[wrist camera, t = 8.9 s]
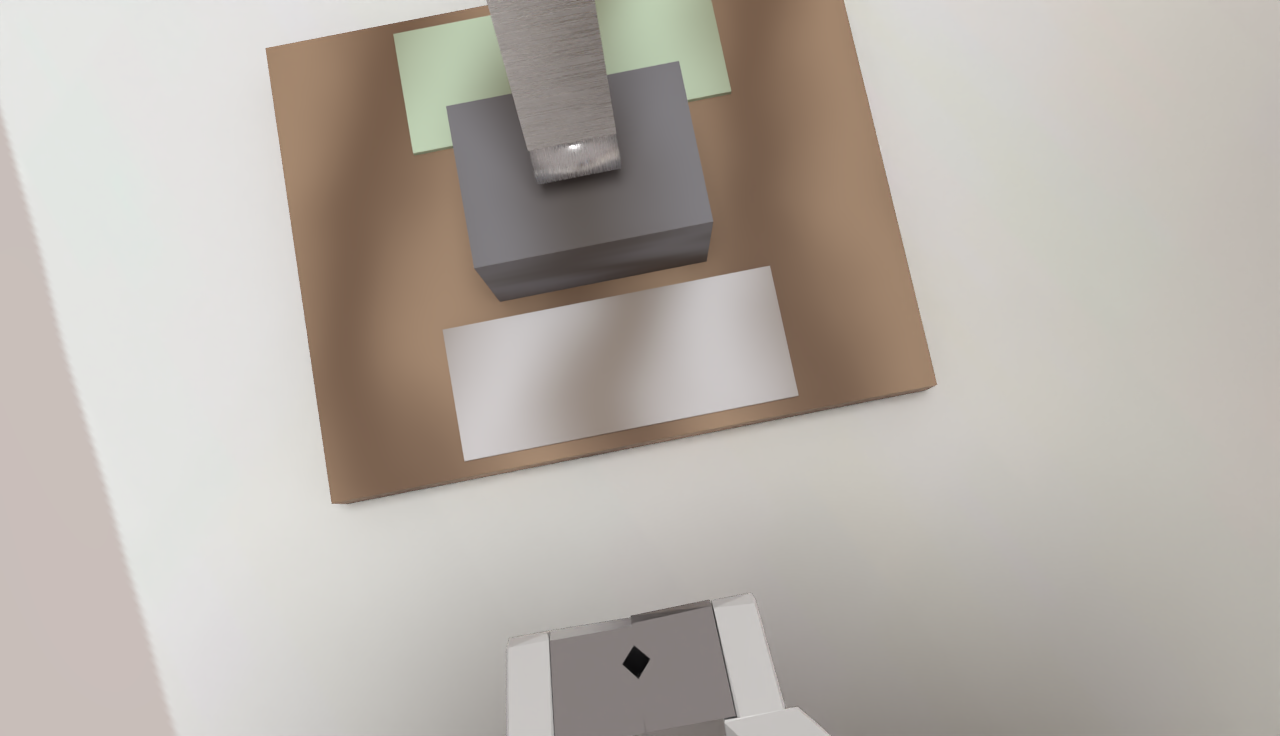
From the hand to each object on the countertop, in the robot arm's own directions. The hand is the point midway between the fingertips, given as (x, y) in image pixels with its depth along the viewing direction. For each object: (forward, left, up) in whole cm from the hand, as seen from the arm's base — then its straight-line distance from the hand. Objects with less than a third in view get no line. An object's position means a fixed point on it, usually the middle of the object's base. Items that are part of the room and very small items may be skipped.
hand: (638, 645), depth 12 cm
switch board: (-3, -11, -21) cm, 24 cm away
